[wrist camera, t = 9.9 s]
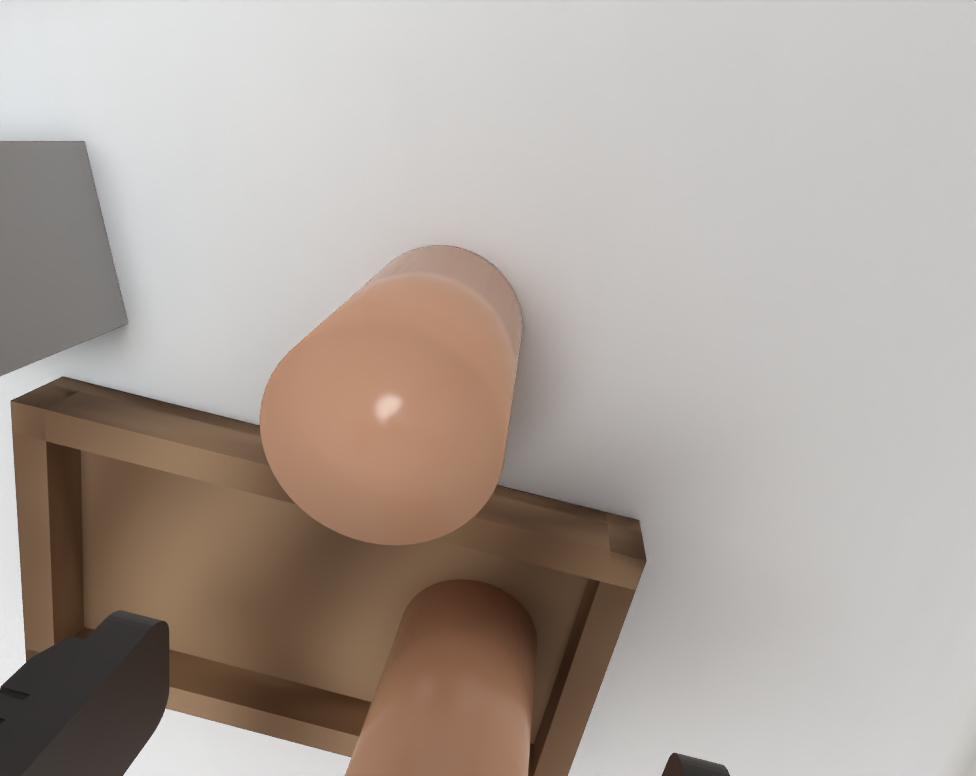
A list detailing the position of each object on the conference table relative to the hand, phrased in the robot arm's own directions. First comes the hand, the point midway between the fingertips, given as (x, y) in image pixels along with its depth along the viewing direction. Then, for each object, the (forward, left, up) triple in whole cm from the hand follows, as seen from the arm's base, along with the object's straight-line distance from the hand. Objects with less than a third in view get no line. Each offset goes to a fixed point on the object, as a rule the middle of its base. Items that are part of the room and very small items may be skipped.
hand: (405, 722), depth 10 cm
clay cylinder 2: (-1, +6, -9) cm, 11 cm away
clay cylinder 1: (+2, -3, -10) cm, 10 cm away
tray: (+4, +6, -10) cm, 12 cm away
